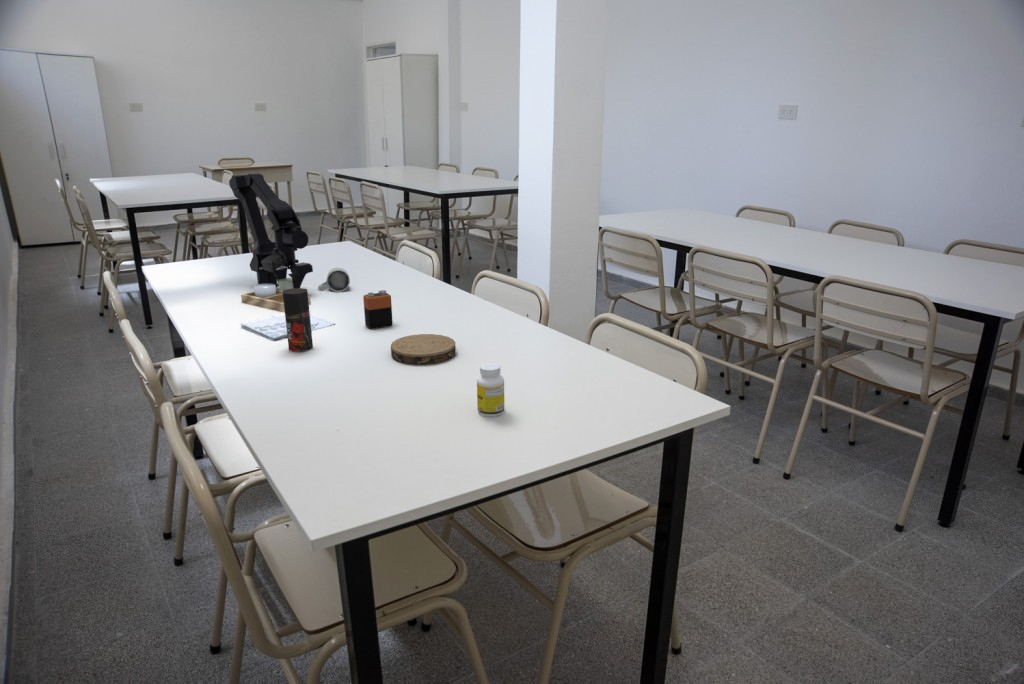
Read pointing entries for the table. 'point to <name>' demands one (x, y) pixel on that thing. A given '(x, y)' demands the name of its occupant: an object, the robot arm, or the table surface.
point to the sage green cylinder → (285, 284)
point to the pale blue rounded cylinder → (265, 290)
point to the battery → (378, 310)
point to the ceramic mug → (336, 280)
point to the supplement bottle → (490, 390)
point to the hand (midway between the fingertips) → (289, 291)
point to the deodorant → (297, 319)
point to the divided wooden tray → (267, 301)
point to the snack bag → (280, 326)
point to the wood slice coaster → (423, 349)
